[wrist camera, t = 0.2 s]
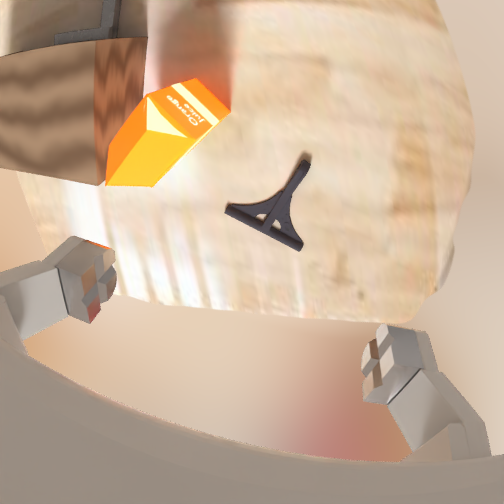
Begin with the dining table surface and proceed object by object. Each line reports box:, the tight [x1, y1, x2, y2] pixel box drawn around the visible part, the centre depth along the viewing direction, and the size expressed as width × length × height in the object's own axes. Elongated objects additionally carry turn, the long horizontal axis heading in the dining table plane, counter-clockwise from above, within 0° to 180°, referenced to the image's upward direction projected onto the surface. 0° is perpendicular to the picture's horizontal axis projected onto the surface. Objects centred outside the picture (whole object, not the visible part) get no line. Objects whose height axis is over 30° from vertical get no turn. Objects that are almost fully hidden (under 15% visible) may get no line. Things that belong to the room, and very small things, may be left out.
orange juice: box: [105, 78, 230, 188], centre depth 36 cm, size 8×9×20 cm
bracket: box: [225, 160, 311, 252], centre depth 49 cm, size 14×15×3 cm
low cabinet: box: [0, 37, 148, 186], centre depth 39 cm, size 20×32×13 cm, turn 81°
